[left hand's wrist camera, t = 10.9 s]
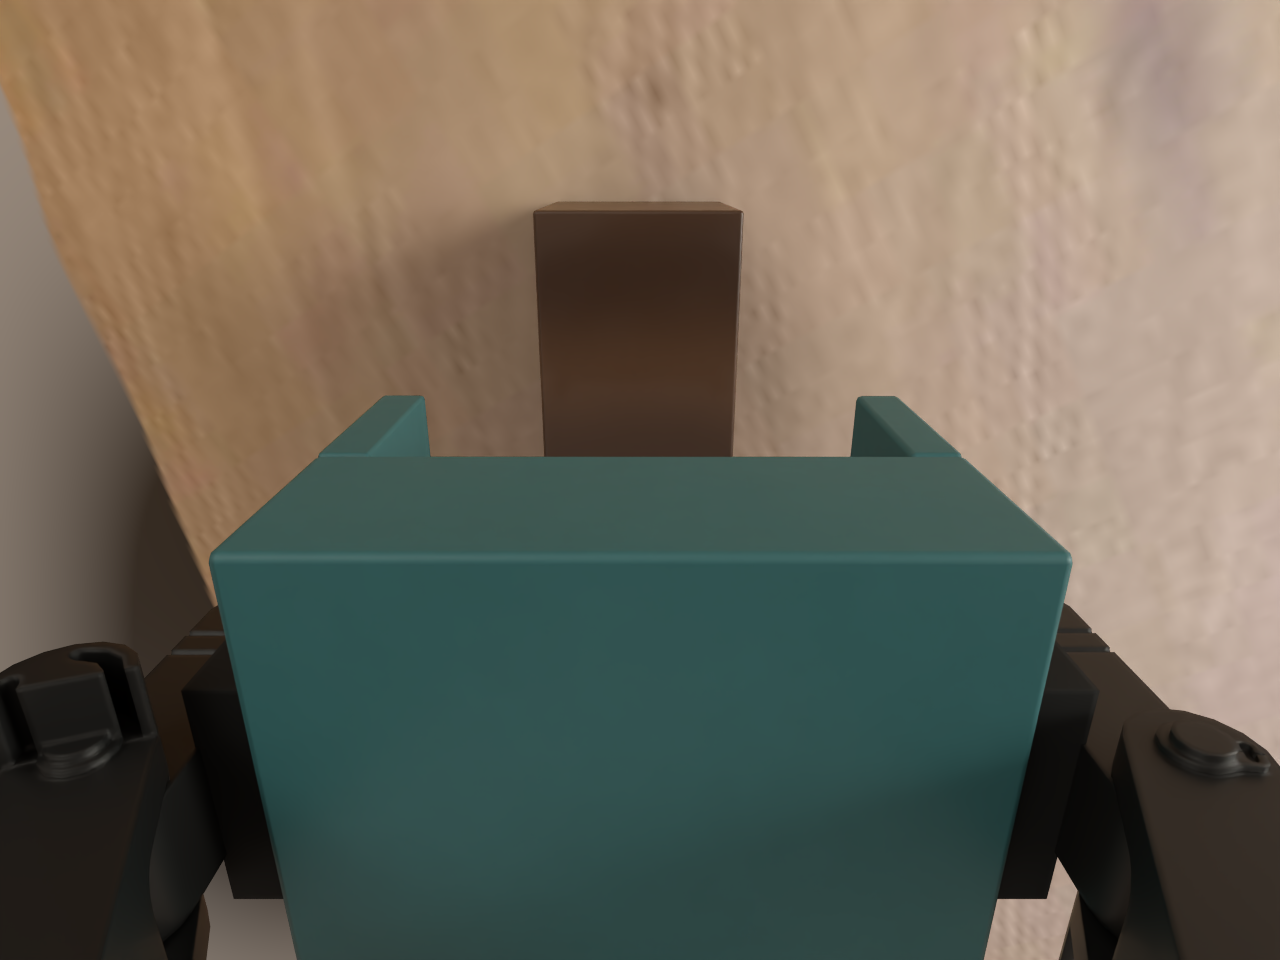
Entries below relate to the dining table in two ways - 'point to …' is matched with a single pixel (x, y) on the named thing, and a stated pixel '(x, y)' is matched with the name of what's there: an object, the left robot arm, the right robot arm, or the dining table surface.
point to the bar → (638, 327)
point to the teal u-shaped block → (640, 697)
